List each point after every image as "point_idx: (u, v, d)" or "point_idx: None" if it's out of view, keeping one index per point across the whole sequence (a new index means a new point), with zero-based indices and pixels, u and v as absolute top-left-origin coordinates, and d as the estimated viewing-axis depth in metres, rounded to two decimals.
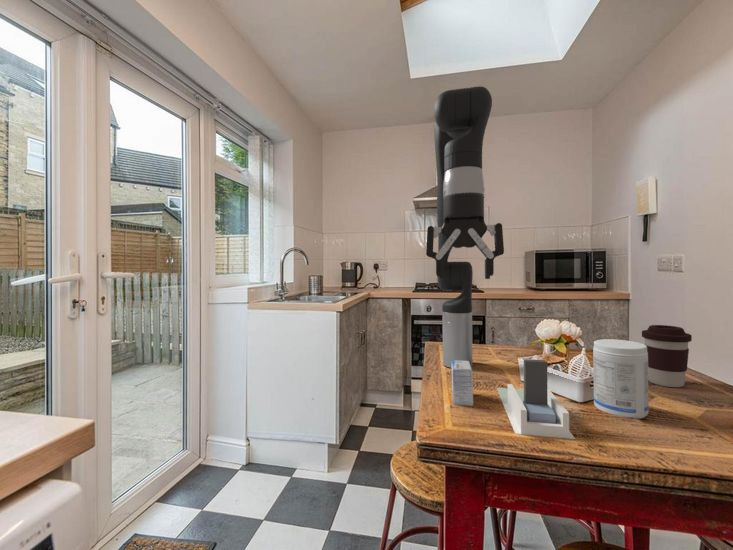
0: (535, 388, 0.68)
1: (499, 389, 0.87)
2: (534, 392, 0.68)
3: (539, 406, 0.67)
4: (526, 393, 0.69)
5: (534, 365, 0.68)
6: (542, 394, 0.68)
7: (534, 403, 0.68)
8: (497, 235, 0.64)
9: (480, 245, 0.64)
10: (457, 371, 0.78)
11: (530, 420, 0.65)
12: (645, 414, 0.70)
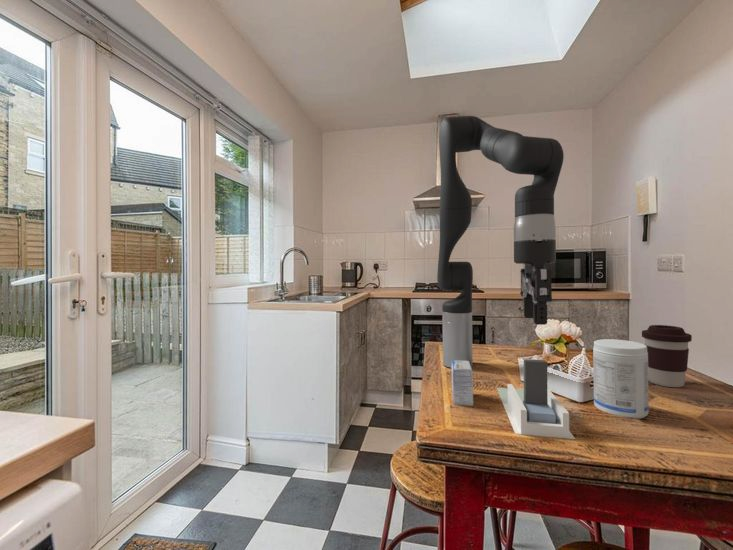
0: (535, 388, 0.68)
1: (499, 389, 0.87)
2: (534, 392, 0.68)
3: (539, 406, 0.67)
4: (526, 393, 0.69)
5: (534, 365, 0.68)
6: (542, 394, 0.68)
7: (534, 403, 0.68)
8: None
9: None
10: (457, 371, 0.78)
11: (530, 420, 0.65)
12: (645, 414, 0.70)
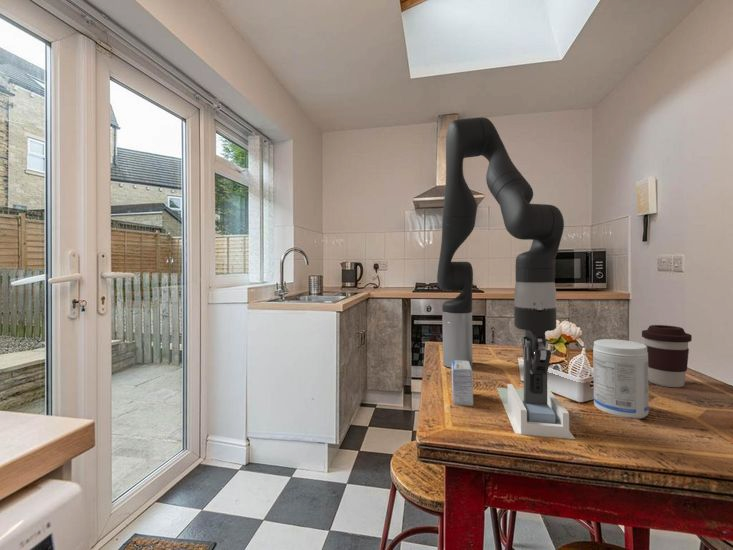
0: None
1: (499, 389, 0.87)
2: None
3: (539, 406, 0.67)
4: (526, 393, 0.69)
5: None
6: (542, 394, 0.68)
7: (534, 403, 0.68)
8: None
9: None
10: (457, 371, 0.78)
11: (530, 420, 0.65)
12: (645, 414, 0.70)
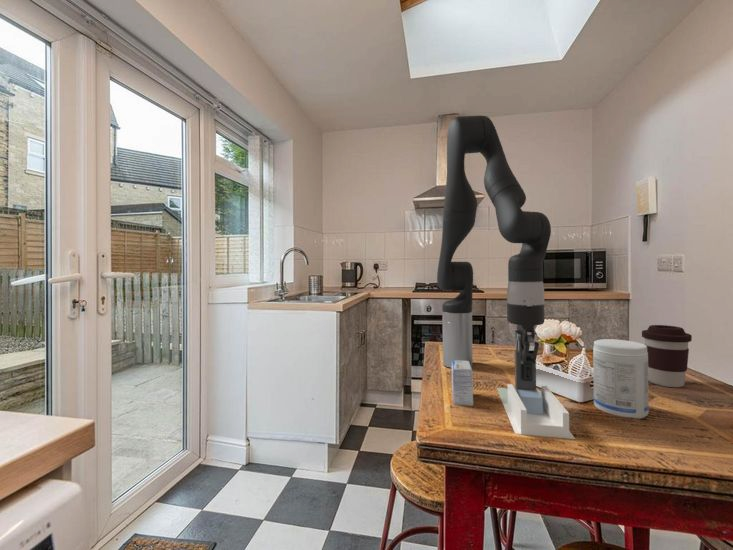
0: None
1: (499, 389, 0.87)
2: None
3: (528, 391, 0.75)
4: (517, 380, 0.77)
5: None
6: None
7: (524, 388, 0.76)
8: None
9: None
10: (457, 371, 0.78)
11: None
12: (645, 414, 0.70)
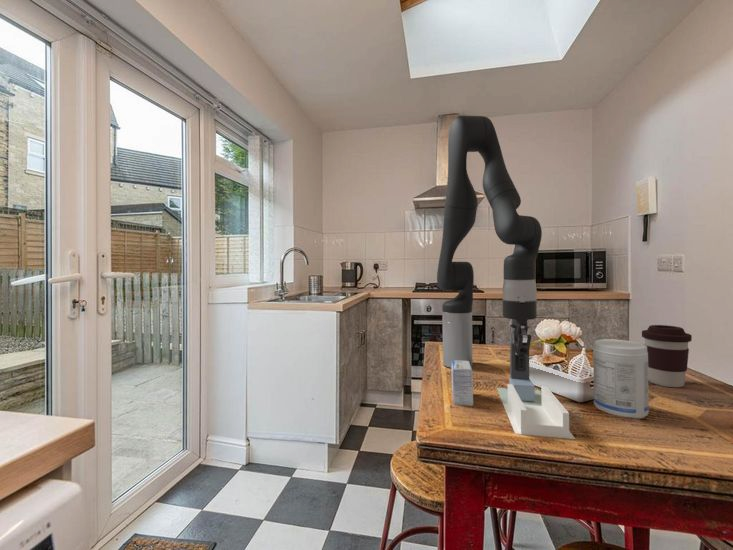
0: None
1: (499, 389, 0.87)
2: None
3: (522, 380, 0.82)
4: (512, 370, 0.83)
5: None
6: None
7: (518, 378, 0.83)
8: None
9: None
10: (457, 371, 0.78)
11: None
12: (645, 414, 0.70)
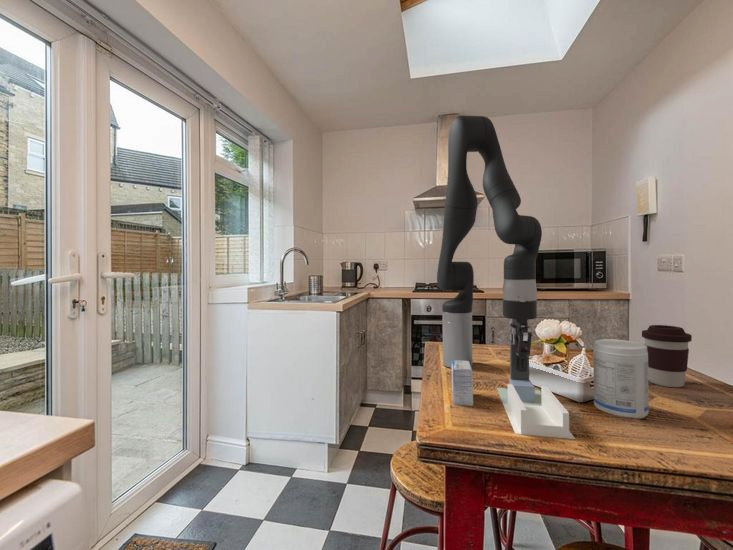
0: None
1: (499, 389, 0.87)
2: None
3: (522, 381, 0.82)
4: (512, 371, 0.83)
5: None
6: None
7: (518, 379, 0.83)
8: None
9: None
10: (457, 371, 0.78)
11: None
12: (645, 414, 0.70)
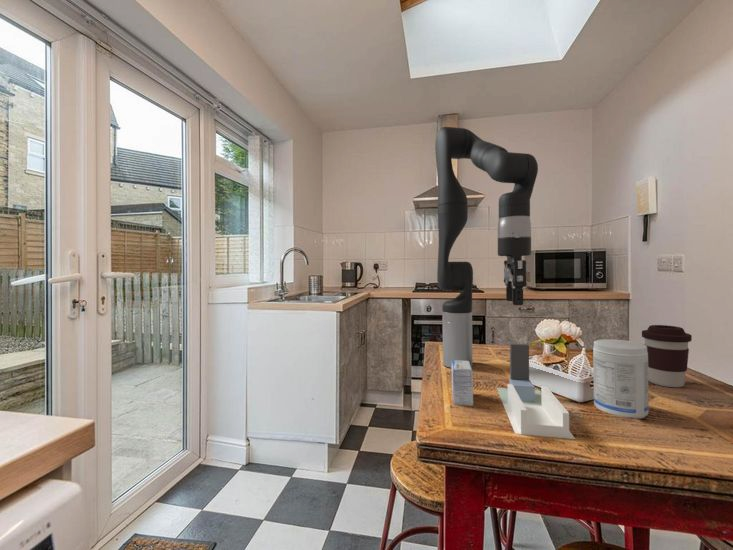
0: (519, 366, 0.83)
1: (499, 389, 0.87)
2: (518, 370, 0.83)
3: (522, 381, 0.82)
4: (512, 371, 0.83)
5: (518, 347, 0.83)
6: (525, 371, 0.83)
7: (518, 379, 0.83)
8: None
9: None
10: (457, 371, 0.78)
11: None
12: (645, 414, 0.70)
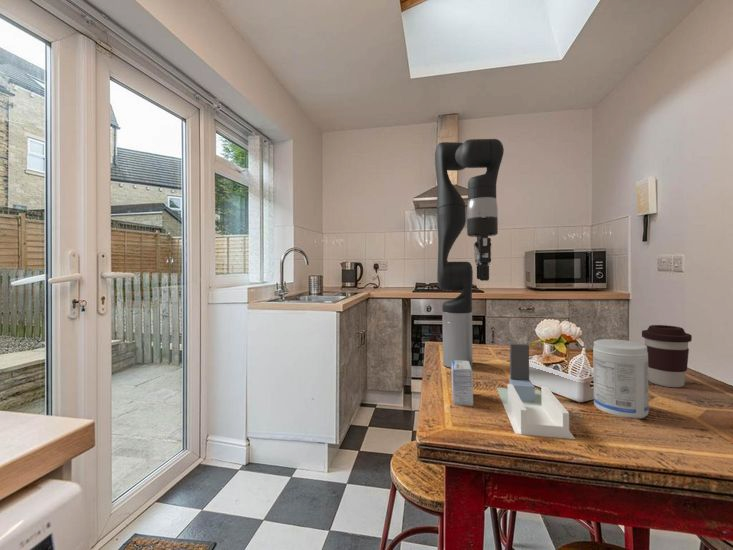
0: (519, 366, 0.83)
1: (499, 389, 0.87)
2: (518, 370, 0.83)
3: (522, 381, 0.82)
4: (512, 371, 0.83)
5: (518, 347, 0.83)
6: (525, 371, 0.83)
7: (518, 379, 0.83)
8: None
9: None
10: (457, 371, 0.78)
11: None
12: (645, 414, 0.70)
